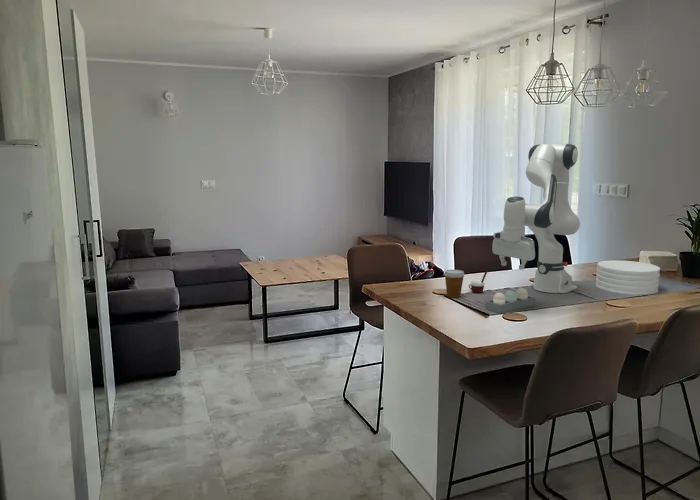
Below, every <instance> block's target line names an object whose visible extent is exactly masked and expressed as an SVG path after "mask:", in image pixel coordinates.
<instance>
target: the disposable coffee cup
mask: <svg viewBox="0 0 700 500" xmlns="http://www.w3.org/2000/svg"><path fill="white" fill-rule="evenodd" d="M443 275H444V279H445V291H446V297H448V298H454V299H458V298H460V297H461V294H462V289H463V282H464V277H465V272H464V270H460V269H445V272H444V273H443Z"/></svg>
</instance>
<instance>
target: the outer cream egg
mask: <svg viewBox="0 0 700 500" xmlns="http://www.w3.org/2000/svg"><path fill="white" fill-rule="evenodd" d="M492 298H493V299H492V300H493V303H496V304H499V305H501V304H505V293H502V292H495V293H494V294H493V297H492Z"/></svg>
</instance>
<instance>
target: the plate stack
mask: <svg viewBox="0 0 700 500" xmlns="http://www.w3.org/2000/svg"><path fill="white" fill-rule="evenodd" d="M596 266H597V267H596V278H595V281H596V282H595V286H596V288H598V289H600V290H602V291H607V292H611V293H616V294H622V295H623V294H624V295H634V296H637V295H641V296H642V295H644V294H647V295H653V294H657V293H658V292H659V284H660V283H659V281H660V272H661V267H659V266H658V265H655V264H651V263H648V262H642V261H641V262H640V261H631V260H620V259H619V260H615V259H614V260H612V259H611V260H603V261H599V262H597V265H596Z"/></svg>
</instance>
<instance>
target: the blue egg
mask: <svg viewBox="0 0 700 500" xmlns="http://www.w3.org/2000/svg"><path fill="white" fill-rule="evenodd" d="M504 295H505V300H506V301H509V302H514V301H517V294H516V291H515V290H513V289H510V290H507V291H506V292H505V293H504Z"/></svg>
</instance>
